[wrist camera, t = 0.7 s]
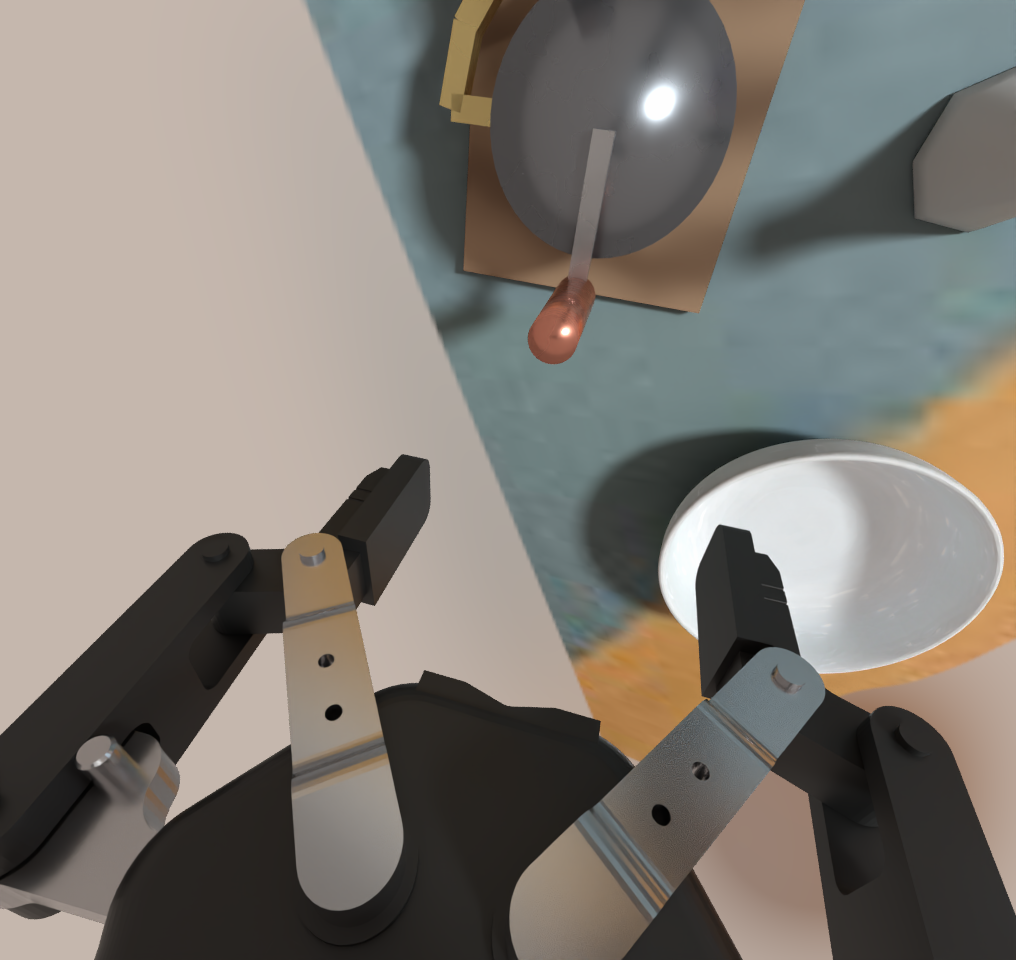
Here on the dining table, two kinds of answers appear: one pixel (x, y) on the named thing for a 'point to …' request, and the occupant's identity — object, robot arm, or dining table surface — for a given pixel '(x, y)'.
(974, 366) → the dining table surface
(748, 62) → the board
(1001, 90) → the flask
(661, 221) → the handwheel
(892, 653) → the serving bowl
